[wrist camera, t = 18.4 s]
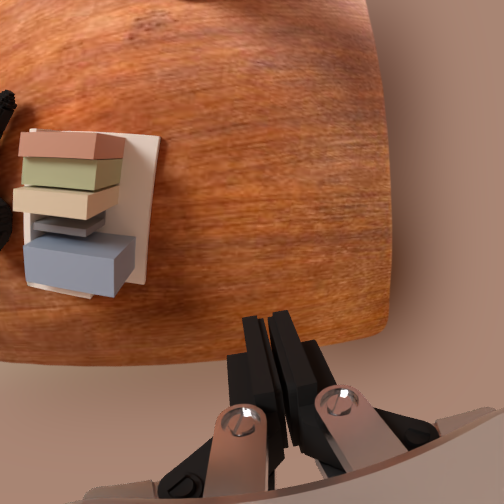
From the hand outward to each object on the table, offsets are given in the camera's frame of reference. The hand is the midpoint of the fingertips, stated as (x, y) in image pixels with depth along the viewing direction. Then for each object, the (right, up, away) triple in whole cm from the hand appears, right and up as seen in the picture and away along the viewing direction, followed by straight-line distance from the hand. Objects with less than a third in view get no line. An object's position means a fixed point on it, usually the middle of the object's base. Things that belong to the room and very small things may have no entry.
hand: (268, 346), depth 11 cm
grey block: (-20, +4, +24) cm, 32 cm away
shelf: (-20, +9, +24) cm, 32 cm away
